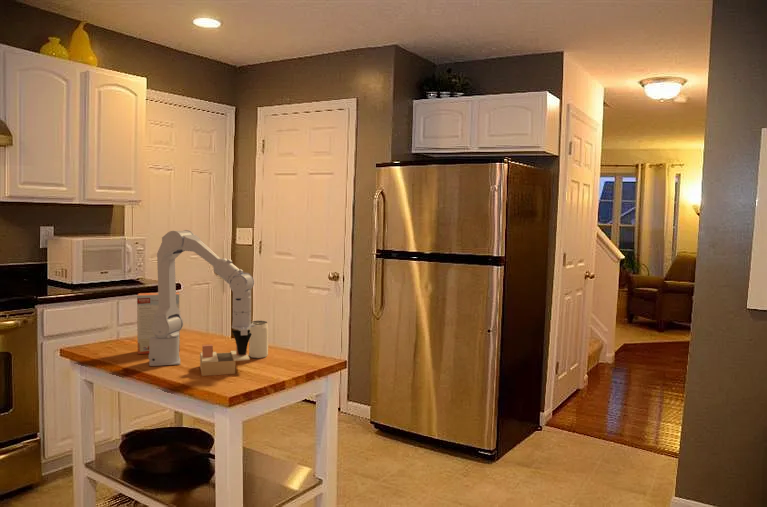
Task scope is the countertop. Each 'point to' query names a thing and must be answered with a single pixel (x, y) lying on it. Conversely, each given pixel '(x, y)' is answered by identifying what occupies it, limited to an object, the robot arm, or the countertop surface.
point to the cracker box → (147, 319)
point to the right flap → (239, 357)
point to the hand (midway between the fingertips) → (241, 353)
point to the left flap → (208, 354)
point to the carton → (218, 365)
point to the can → (258, 340)
